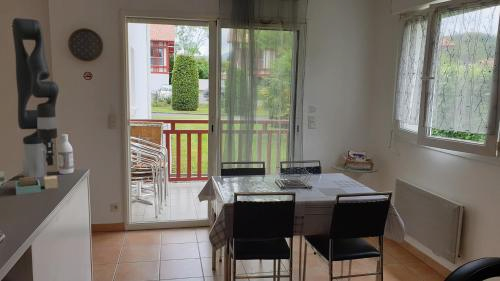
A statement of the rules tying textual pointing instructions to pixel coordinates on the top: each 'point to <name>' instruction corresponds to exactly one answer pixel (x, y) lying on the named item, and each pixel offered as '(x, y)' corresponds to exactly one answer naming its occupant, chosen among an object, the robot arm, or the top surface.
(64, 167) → the bath foam
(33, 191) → the tote
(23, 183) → the block
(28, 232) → the top surface
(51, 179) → the light box
